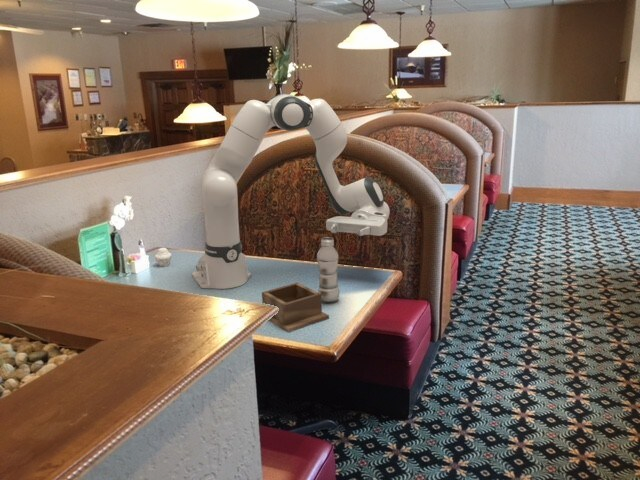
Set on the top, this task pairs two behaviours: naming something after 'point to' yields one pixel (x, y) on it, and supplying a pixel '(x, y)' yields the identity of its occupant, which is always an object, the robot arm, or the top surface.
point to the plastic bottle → (328, 271)
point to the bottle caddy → (295, 306)
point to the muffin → (163, 257)
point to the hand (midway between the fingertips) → (345, 231)
